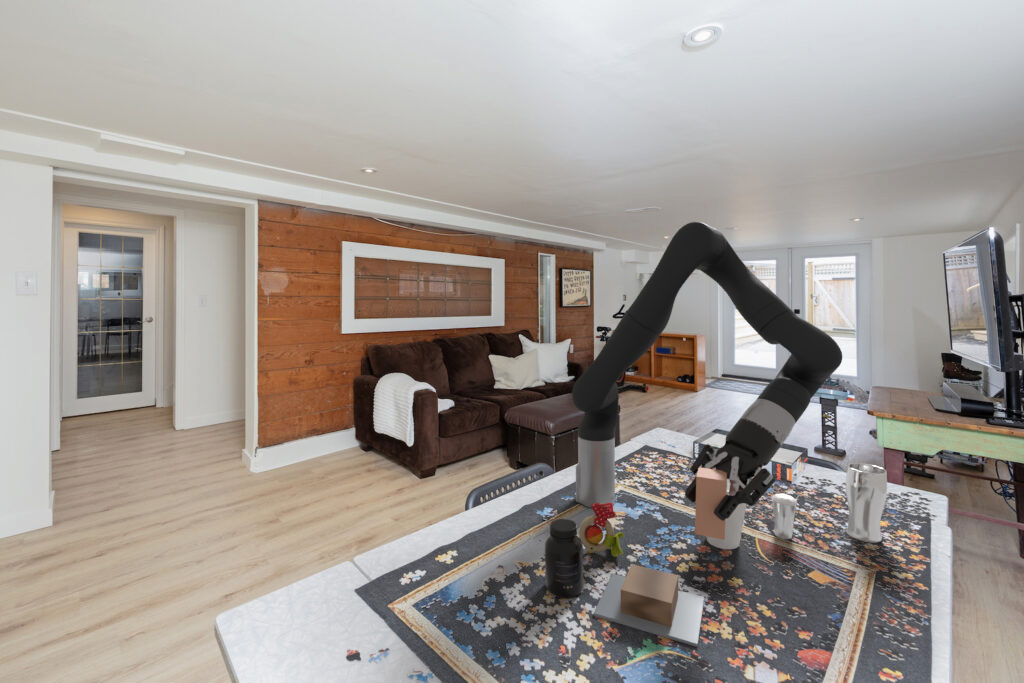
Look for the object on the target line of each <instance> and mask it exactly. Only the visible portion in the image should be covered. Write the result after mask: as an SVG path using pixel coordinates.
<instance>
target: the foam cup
mask: <svg viewBox="0 0 1024 683" xmlns="http://www.w3.org/2000/svg"><path fill="white" fill-rule="evenodd" d="M729 489H730V480H729V479H727V495H729ZM746 509H747V504H746V503H742V504H739V505H738V506H737V507H736V509H735V510H734V511H733V513H732V514H731V515H730V517H729V518H727V519H726V524H725V539H724V540H722V539H717V538H712V537H708V536H705V537H706V541H707V542H708V543H709V544H710V545H711V546H714V547H715V548H719V549H721V550H734V549H738V547H740V542H741V537H742V533H743V532H742V531H743V526H744V520H745V516H746V515H745V514H746Z"/></svg>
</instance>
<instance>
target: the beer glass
mask: <svg viewBox="0 0 1024 683" xmlns="http://www.w3.org/2000/svg"><path fill="white" fill-rule="evenodd" d="M887 473H888V472H887V470H886V469H885V468H884V467H881V466H878V465H875V464H870V463H865V462H851V463H848V464H847V472H846V478H845V495H846V502H847V507H848V516H849V517H848V522H847V527H846V531H845V532H846V534H847V535H848V536H849V537H851V538H853V539H855V540H857V541H861V542H866V543H871V544H875V543H876V544H877V543H879V542H882V539H883V537H882V532H881V519H882V516H883V515H882V514H883V512H884V509H885V506H886V502H887V498H888V497H887V495H888V477H887V476H888V475H887Z"/></svg>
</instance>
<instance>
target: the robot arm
mask: <svg viewBox="0 0 1024 683" xmlns="http://www.w3.org/2000/svg"><path fill="white" fill-rule="evenodd" d="M696 270H698V271H700V272H702V273H703V274H705V275H706V276H707V277H709V278H711V279H712V280H713V281H715V283H717V284H718V285H719V286H720V287H721V289H723V291H724V292H725V293H726V295H727V296H728V298H730V301H731V302H732V304H733V305H734V307H735V309H736V310H737V312H739V314H740V315H741V317H742V318H743V319H744V320H745V321H746V322H747V323H748V324H749V326H750V327H752V329H753V330H754V331H755V332H756V333H757V334H758V335H759V336H760V337H761V338H762V340H764V341H765V342H766V343H768V344H770V345H781V347H783V348H784V349H786V350H787V351H788V352H789V353H790V356H788V358H787V360H786V361H785V363H784V365H783V366H782V367H781V369H780V371H779V372H778V373H777V375H776V376H775V378H774V379H771V381H770V382H768V384H767V385H766V386H765V388H763V390H762V392H760V394H759V395H758V397H757V398H756V399H755V401H754V402H752V403H751V405H749V407H748V408H746V410H745V411H744V412H743V414H742V415H741V416H740V418H739V419H738V420H737V422H735V424H734V426H733V427H732V428H731V430H729V432H728V433H727V435H725V443H724V445H723V446H722V447H720V448H718V449H717V448H713V447H712V446H711V445H710V444H705V445H704V446H703V448H702V449H701V450H700V452H699V454H698V455H697V457H696V459H695V460H694V462H693V463H692V465H691V467H690V468H689V469H690V471H691V472H692V474H693V475H694V479H693V480H692V481H691V483H690V484H689V485H688V486H687V488H686V490H685V492H684V496H685V498H686V499H687V500H688V501H690V502H691V503H696V476H697V472H698V468H699V467H701V468H708V469H715V470H721V471H723V472H725V473H727V479H729V480H730V489H729V495H727V494H726V495H725V496H724V498H723V499H722V500H721V502H720V503H719V504H718V506H717V507H716V509H715V510H714V514H715V515H716V516H717V517H718V518H719V519H721V520H722V521H724V520H725V519H727V518H729V517H730V515H731V514H732V513H733V511H734V510H735V509H736V507H737V506H738V505H739V504H742V503H746V505H748V506H749V507H752V506H755V505H756V503H757V502H758V501H759V500H760V499H761V498H762V497H763V496H764V494H765V493H766V492H767V491H768V490H769V489H770V488H771V487H772V486H773V485H774V483H775V482H776V478H775V477H774V476H773V474H772V473H771V472H770V471H769V470H768V469H767V468H763V467H764V466H767V465H769V463H770V462H771V461H772V459H773V457H775V455H776V454H777V452H778V451H779V449H780V448H781V447H782V445H783V444H784V442H785V441H786V440H787V438H788V437H789V436H790V435H791V432H792V431H793V428H794V426H795V425H796V423H797V422H798V421H799V419H800V418H801V417H802V415H803V414H804V413H805V411H806V410H807V408H808V407H809V405H810V403H811V399H812V398H813V397H814V395H816V394H817V392H818V391H819V390H820V388H821V387H822V386H824V385H823V384H824V383H825V382H826V381H827V380H828V379H829V378H830V377H831V375H832V374H833V373H835V372H836V370H838V368H839V367H840V365H841V363H842V361H843V353H842V350H841V348H840V347H841V346H839V344H838V343H837V342H836V340H835V339H834V338H832V337H831V336H830V335H829V334H828V333H826V332H825V331H823V330H822V329H820V328H819V327H817V326H815V325H813V324H812V323H811V322H809V321H807V320H805V319H803V318H802V317H799V315H797V314H796V313H795V311H794V310H792V309H791V308H790V307H789V305H787V304H786V302H784V301H783V300H782V299H781V298H780V297H779V296H777V295H776V294H775V293H774V291H772V290H771V289H770V288H769V287H768V286H767V285H766V284H765V283H764V282H763V281H761V280H760V279H759V278H758V277H757V276H756V275H755V274H754V273H753V272H752V271H751V270H750V269H749V268H748V266H747V265H746V264H745V263H744V262H743V260H742V259H741V258H740V257H739V255H738V254H737V252H736V251H735V250H734V248H733V247H732V246H731V244H730V242H729V241H728V240H727V238H726V237H725V236H724V234H723V233H722V232H721V231H720V230H718V229H717V228H715V227H714V226H710V225H709V224H706V223H704V222H703V221H702V222H701V221H692V222H688V223H686V224H684V225H683V226H682V227H680V228H679V229H678V230H677V231H676V232H675V233H674V235H673V237H672V238H671V240H670V242H669V243H668V245H667V247H666V249H665V251H664V252H663V254H662V256H661V258H660V260H659V262H658V264H657V265H656V267H655V269H654V270H653V273H652V274H651V276H650V277H649V279H648V280H647V281H646V283H645V284H644V286H643V287H642V289H641V290H640V291H639V293H638V295H637V297H636V298H635V299H634V301H633V302H632V304H631V305H630V306H629V307H628V309H627V311H626V312H625V313H624V315H622V318H621V319H620V321H619V322H618V324H617V325H616V327H615V329H614V331H613V332H612V333H611V335H610V336H609V338H607V341H606V342H605V344H604V345H603V347H602V349H601V350H600V352H599V354H598V355H597V356H596V358H595V359H594V360H593V361H592V362H591V364H590V365H589V366H588V367H587V369H586V370H584V372H583V373H582V374H581V375H580V377H579V378H577V380H576V381H575V383H574V385H573V388H572V393H571V397H572V402H573V404H574V406H575V408H576V409H577V410H578V411H581V412H583V413H584V414H583V416H582V417H583V418H582V419H581V420H580V422H579V423H578V426H577V446H578V447H577V450H578V452H577V455H578V460H577V461H578V462H577V464H576V465H575V502H576V503H579V504H581V505H582V506H585V507H588V508H590V509H592V507H591V505H592V504H593V503H601V504H606V503H612V504H613V505H615V503H616V493H615V492H616V466H615V465H616V459H615V458H616V453H615V452H616V450H615V449H616V446H615V442H616V441H615V440H616V433H615V432H616V428H617V425H618V422H619V419H618V418H619V388H618V383H617V381H618V380H619V379H620V377H622V375H623V374H624V373H625V372H626V371H627V370H628V369H629V368H630V367H632V366H633V365H634V364H635V363H636V362H637V361H638V360H640V358H641V357H642V356H644V355H645V354H646V353H647V352H648V351H649V350H650V349H651V347H652V346H653V345H654V344H655V343H656V341H657V340H658V339H659V337H660V336H661V334H662V333H663V332H664V330H665V329H666V327H667V326H668V323H669V321H670V318H671V315H672V312H673V308H674V304H675V302H676V301H675V300H676V298H677V296H678V294H679V292H680V290H681V289H682V287H683V286H684V284H685V282H686V281H687V280H688V279H689V278H690V276H691V275H692V274H693V273H694V271H696ZM750 479H751V480H750Z"/></svg>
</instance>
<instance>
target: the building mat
mask: <svg viewBox="0 0 1024 683" xmlns="http://www.w3.org/2000/svg"><path fill="white" fill-rule="evenodd" d="M625 578H626V576H623V575H619V574H616V573H611V575H610V578H609V580H608V582H607V584H606V587H604V588H605V589H604V590H603V592H602V594H601V597H600V598H599V601H598V603H597V605H596V606H595V609H594V611H593V617H596V618H599V619H603V620H605V621H606V620H607V621H609V622H613V623H616V624H620V625H624V626H625V627H629V628H633V629H636V630H639V631H643V632H647V633H649V634H653V635H656V636H660V637H663V638H666V639H669V640H673V641H676V642H679V643H682V644H686V645H689V646H692V647H696V648H698V646H699V640H700V639H699V637H700V634H701V633H700V631H701V626H702V617H703V609H704V603H705V596H701V595H698V594H694V593H692V592H691V593H690V592H686V591H682V590H679V589H678V600H677V605H676V609H675V614H674V618H673V622H672V627H669V626H666V625H662V624H659V623H655V622H652V621H648V620H645V619H641V618H638V617H635V616H631V615H628V614H624V613H621V588H622V585H623V583H624V581H625Z"/></svg>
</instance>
